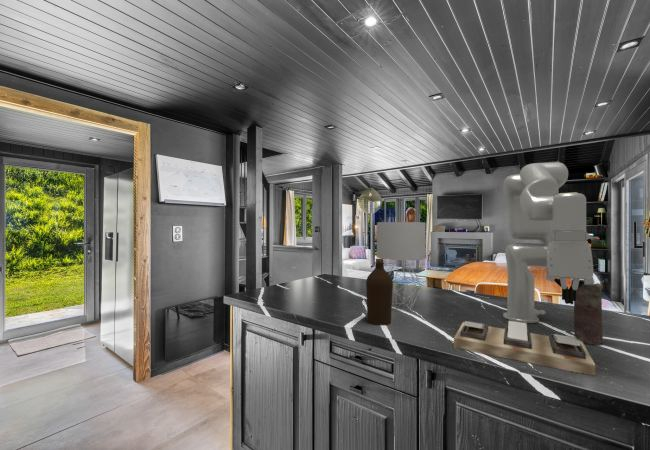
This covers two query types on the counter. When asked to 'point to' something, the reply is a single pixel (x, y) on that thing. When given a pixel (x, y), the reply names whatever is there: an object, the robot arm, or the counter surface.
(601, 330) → the candle
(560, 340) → the rocker right
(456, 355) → the counter surface
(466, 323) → the rocker left
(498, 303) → the counter surface
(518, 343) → the switch panel
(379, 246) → the table lamp
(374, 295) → the olive oil
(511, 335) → the rocker middle
